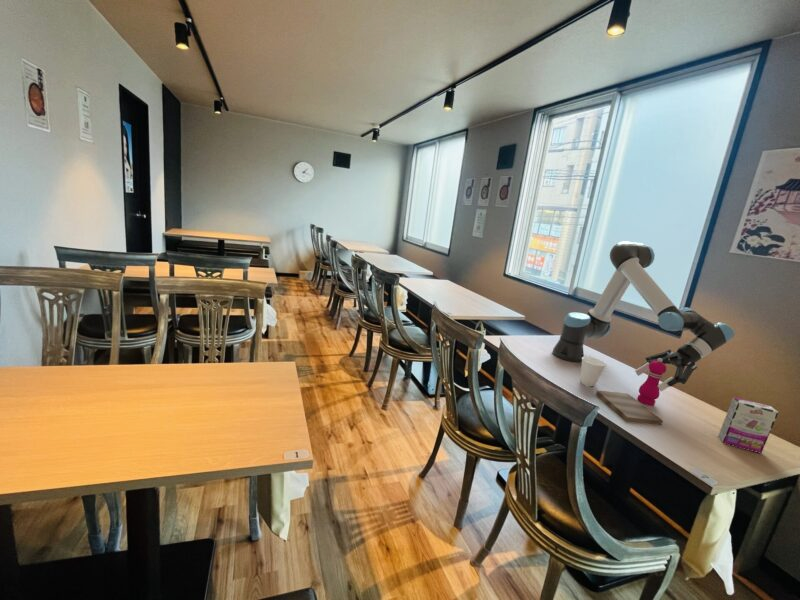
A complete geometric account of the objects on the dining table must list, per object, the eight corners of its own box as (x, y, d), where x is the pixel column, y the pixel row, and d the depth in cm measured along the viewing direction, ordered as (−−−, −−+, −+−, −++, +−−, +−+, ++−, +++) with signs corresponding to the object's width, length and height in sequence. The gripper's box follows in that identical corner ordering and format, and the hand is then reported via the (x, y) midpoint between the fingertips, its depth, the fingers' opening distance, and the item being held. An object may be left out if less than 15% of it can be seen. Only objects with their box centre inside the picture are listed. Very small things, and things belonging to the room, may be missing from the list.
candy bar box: (754, 446, 131) (772, 405, 127) (761, 454, 127) (780, 412, 123) (716, 435, 135) (732, 396, 131) (722, 443, 130) (739, 402, 126)
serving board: (595, 394, 155) (597, 390, 154) (626, 397, 156) (628, 393, 155) (626, 421, 135) (627, 417, 135) (661, 425, 137) (663, 420, 136)
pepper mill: (659, 406, 152) (675, 362, 147) (646, 406, 150) (662, 362, 145) (644, 397, 159) (658, 354, 154) (631, 397, 157) (646, 354, 152)
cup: (597, 391, 158) (604, 368, 155) (573, 382, 163) (579, 359, 161) (601, 384, 166) (608, 362, 163) (578, 376, 171) (584, 354, 169)
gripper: (724, 371, 138) (674, 402, 141) (674, 346, 162) (631, 373, 165) (716, 356, 137) (666, 388, 139) (666, 333, 161) (624, 361, 163)
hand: (647, 380), depth 152 cm, fingers open, 13 cm apart
